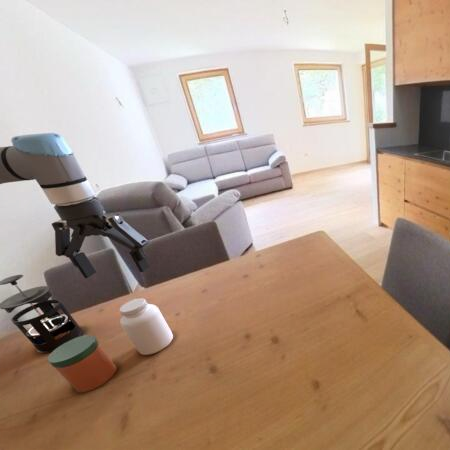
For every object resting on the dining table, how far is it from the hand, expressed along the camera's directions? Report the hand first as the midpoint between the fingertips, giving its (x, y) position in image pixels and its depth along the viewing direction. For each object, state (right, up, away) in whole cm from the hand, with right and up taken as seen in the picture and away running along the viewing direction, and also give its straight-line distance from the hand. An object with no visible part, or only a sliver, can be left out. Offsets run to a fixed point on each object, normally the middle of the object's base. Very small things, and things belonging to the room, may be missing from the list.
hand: (118, 272), depth 77 cm
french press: (-24, -22, +7) cm, 33 cm away
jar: (0, -26, -6) cm, 27 cm away
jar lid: (0, -17, -10) cm, 20 cm away
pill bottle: (+8, -22, +3) cm, 23 cm away
